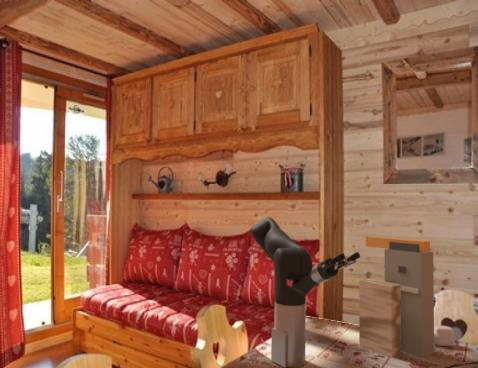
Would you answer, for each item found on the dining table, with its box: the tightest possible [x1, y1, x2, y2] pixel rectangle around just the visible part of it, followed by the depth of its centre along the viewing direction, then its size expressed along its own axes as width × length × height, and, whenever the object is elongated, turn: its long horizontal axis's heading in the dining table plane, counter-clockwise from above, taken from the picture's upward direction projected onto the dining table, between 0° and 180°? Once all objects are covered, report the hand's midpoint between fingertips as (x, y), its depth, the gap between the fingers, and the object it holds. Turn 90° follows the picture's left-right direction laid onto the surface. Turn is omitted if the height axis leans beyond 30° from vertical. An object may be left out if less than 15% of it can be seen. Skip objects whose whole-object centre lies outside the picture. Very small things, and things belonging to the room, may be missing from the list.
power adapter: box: [434, 325, 455, 347], centre depth 132 cm, size 11×5×6 cm, turn 83°
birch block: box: [358, 278, 402, 358], centre depth 127 cm, size 5×12×22 cm, turn 35°
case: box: [384, 242, 435, 359], centre depth 128 cm, size 7×13×34 cm, turn 35°
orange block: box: [365, 235, 431, 253], centre depth 132 cm, size 4×22×4 cm, turn 35°
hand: (351, 255), depth 147 cm, fingers open, 8 cm apart
